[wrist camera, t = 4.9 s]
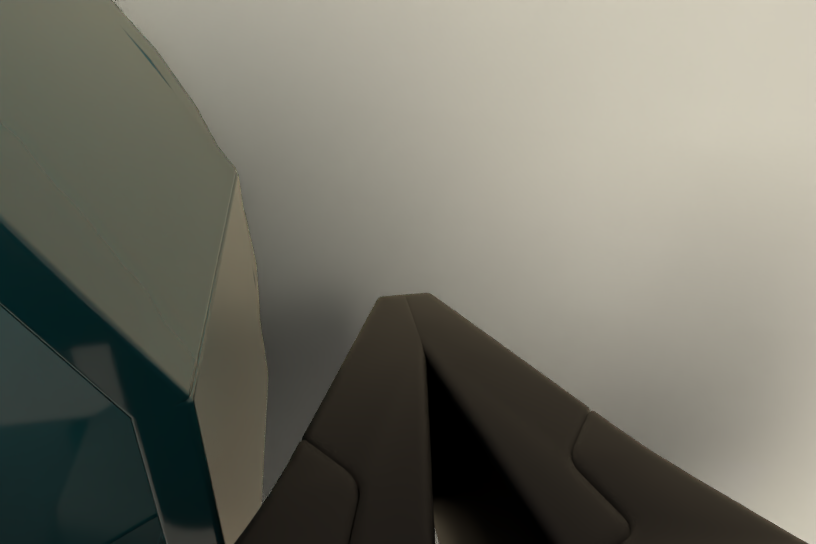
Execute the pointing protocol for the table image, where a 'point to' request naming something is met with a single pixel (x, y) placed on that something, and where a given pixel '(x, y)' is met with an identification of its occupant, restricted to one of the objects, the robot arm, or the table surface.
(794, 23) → the table surface
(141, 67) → the pot
